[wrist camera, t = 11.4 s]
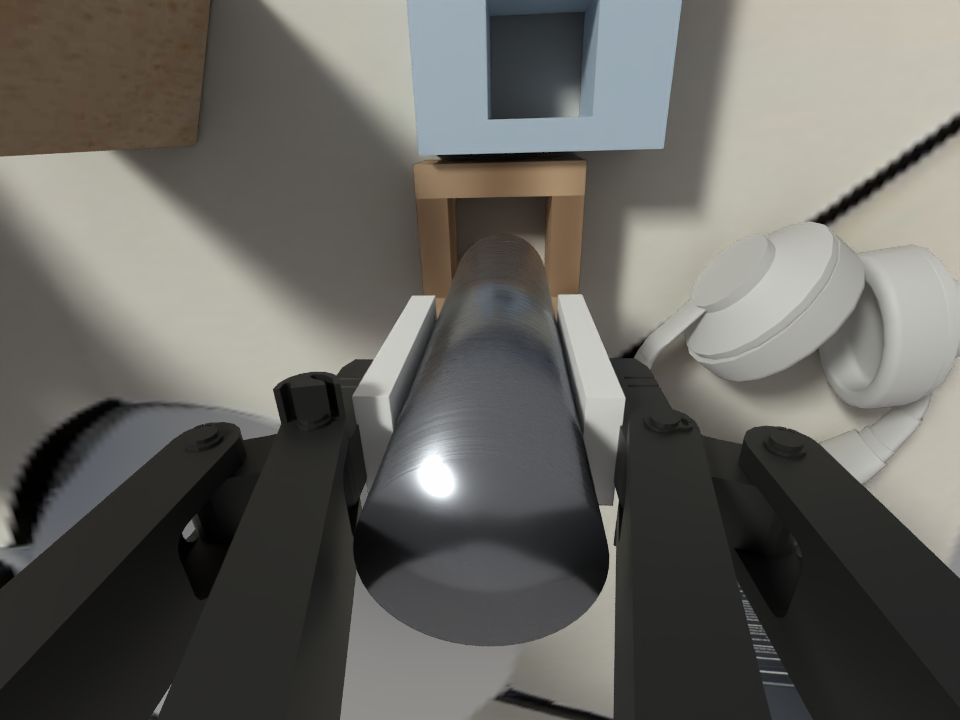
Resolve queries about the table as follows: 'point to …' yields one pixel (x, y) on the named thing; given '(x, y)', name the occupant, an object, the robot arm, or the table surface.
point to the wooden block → (100, 74)
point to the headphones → (827, 327)
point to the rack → (500, 179)
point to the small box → (774, 673)
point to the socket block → (604, 80)
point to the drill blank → (487, 470)
